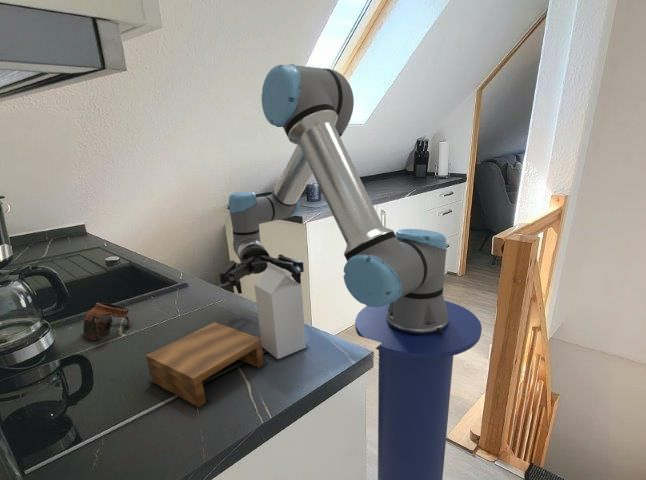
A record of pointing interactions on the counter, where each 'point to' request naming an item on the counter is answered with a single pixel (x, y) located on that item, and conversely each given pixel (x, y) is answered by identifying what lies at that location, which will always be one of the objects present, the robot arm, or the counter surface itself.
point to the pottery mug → (102, 319)
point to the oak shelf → (201, 359)
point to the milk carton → (280, 312)
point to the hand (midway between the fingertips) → (270, 283)
